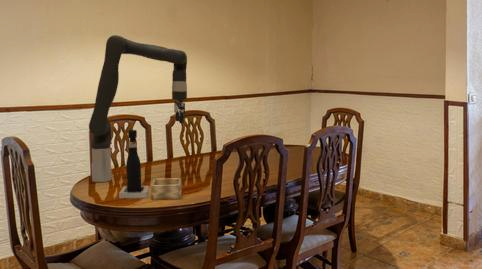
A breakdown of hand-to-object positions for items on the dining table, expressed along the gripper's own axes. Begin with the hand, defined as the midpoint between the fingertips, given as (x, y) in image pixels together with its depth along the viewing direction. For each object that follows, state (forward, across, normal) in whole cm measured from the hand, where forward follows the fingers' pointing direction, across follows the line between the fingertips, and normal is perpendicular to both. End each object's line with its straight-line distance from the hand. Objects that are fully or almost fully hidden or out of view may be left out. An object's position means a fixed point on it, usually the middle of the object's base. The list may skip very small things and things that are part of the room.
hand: (179, 122), depth 241 cm
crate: (+31, +27, -12) cm, 42 cm away
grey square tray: (+31, +20, -26) cm, 45 cm away
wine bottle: (+31, +20, -26) cm, 45 cm away
